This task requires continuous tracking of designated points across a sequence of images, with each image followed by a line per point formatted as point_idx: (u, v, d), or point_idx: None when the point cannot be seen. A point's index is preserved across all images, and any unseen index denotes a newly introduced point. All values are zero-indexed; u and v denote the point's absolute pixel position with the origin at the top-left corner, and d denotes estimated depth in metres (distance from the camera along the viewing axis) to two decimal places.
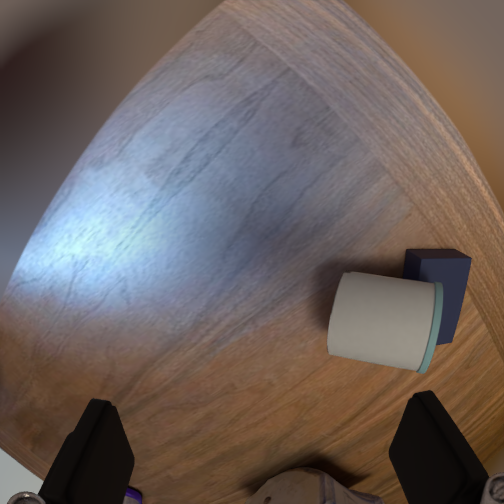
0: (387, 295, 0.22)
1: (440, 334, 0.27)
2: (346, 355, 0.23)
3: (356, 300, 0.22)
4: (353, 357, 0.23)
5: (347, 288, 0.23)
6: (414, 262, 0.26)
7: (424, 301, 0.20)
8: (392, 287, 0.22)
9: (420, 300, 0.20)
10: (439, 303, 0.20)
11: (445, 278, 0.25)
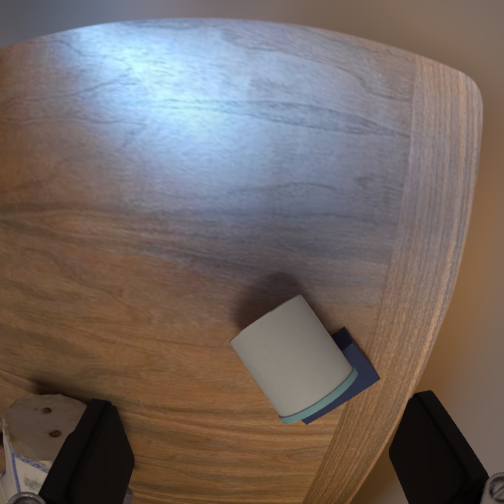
0: (320, 340, 0.23)
1: None
2: (245, 354, 0.23)
3: (297, 320, 0.23)
4: (248, 360, 0.23)
5: (297, 306, 0.24)
6: (343, 340, 0.28)
7: (340, 370, 0.22)
8: (326, 338, 0.24)
9: (338, 366, 0.22)
10: (349, 381, 0.22)
11: None
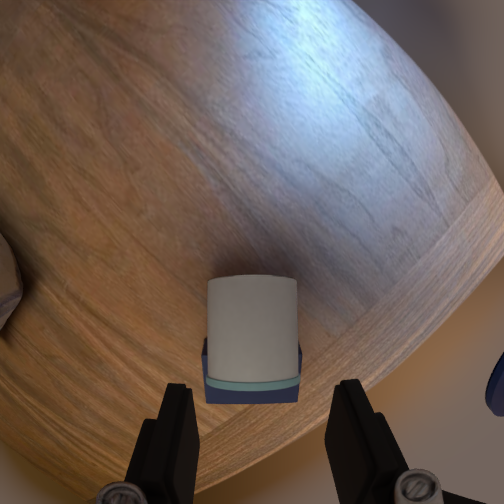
0: (293, 329, 0.23)
1: (217, 389, 0.29)
2: (222, 298, 0.23)
3: (287, 299, 0.23)
4: (221, 306, 0.23)
5: (293, 288, 0.24)
6: None
7: (293, 367, 0.22)
8: (297, 331, 0.24)
9: (294, 362, 0.23)
10: (295, 382, 0.22)
11: None
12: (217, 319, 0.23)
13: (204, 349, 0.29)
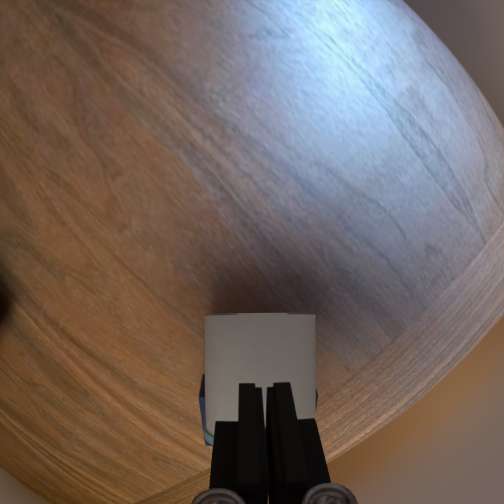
0: (311, 377, 0.18)
1: None
2: (222, 341, 0.17)
3: (305, 342, 0.18)
4: (221, 351, 0.17)
5: (311, 326, 0.19)
6: None
7: None
8: (315, 378, 0.18)
9: (311, 416, 0.17)
10: None
11: None
12: (216, 366, 0.17)
13: (202, 389, 0.23)
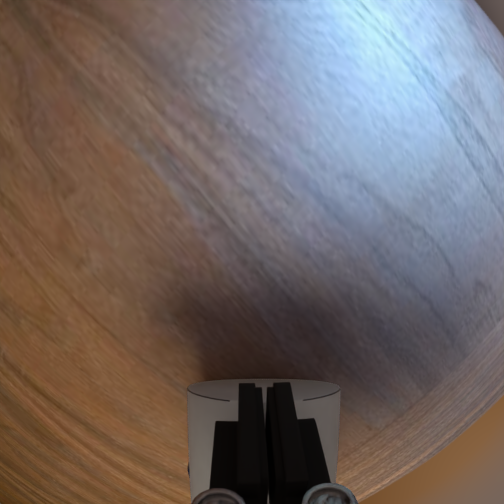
0: (332, 471, 0.11)
1: None
2: (209, 433, 0.11)
3: (327, 432, 0.11)
4: (207, 445, 0.11)
5: (336, 408, 0.12)
6: None
7: None
8: (336, 468, 0.12)
9: None
10: None
11: None
12: (202, 462, 0.11)
13: None
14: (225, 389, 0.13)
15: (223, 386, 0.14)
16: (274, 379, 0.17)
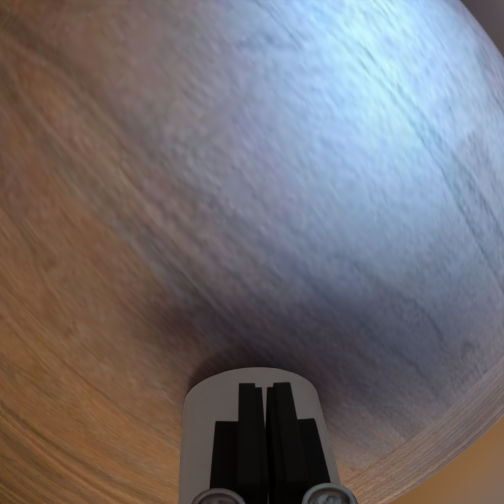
0: (329, 449, 0.11)
1: None
2: (205, 404, 0.13)
3: (311, 404, 0.13)
4: (203, 416, 0.12)
5: (316, 396, 0.14)
6: None
7: None
8: (334, 459, 0.12)
9: None
10: None
11: None
12: (196, 437, 0.11)
13: None
14: None
15: None
16: None
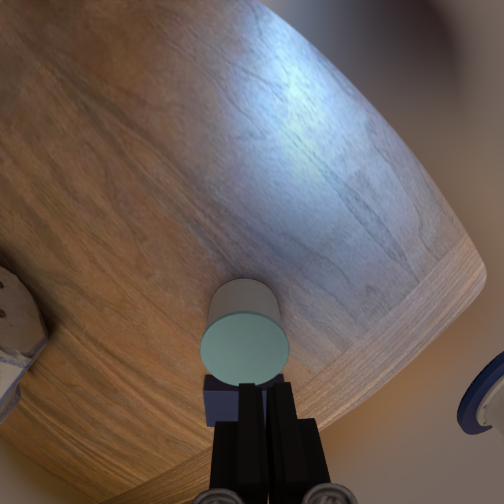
0: (277, 309, 0.29)
1: (216, 416, 0.34)
2: (222, 291, 0.31)
3: (270, 294, 0.31)
4: (220, 294, 0.30)
5: (274, 296, 0.32)
6: None
7: (280, 324, 0.27)
8: (280, 318, 0.29)
9: (279, 323, 0.27)
10: (282, 329, 0.25)
11: None
12: (217, 300, 0.30)
13: (205, 385, 0.34)
14: None
15: None
16: None
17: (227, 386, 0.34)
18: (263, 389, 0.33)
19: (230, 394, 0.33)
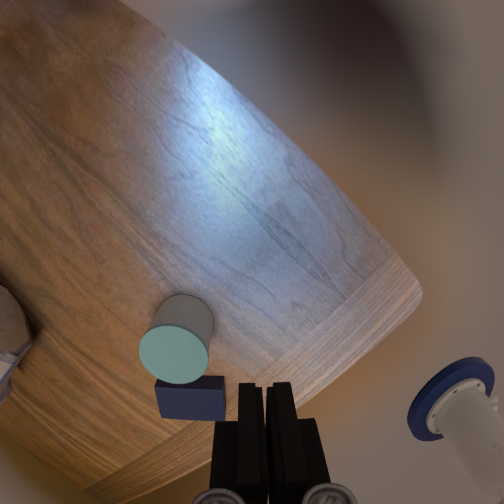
0: (204, 322, 0.35)
1: (167, 409, 0.39)
2: (163, 305, 0.36)
3: (202, 308, 0.37)
4: (161, 307, 0.36)
5: (207, 310, 0.38)
6: (217, 384, 0.39)
7: (201, 335, 0.32)
8: (208, 329, 0.35)
9: (202, 333, 0.32)
10: (200, 339, 0.31)
11: (209, 406, 0.39)
12: (157, 313, 0.35)
13: (157, 382, 0.39)
14: None
15: None
16: None
17: (174, 384, 0.39)
18: (203, 388, 0.39)
19: (177, 390, 0.38)
